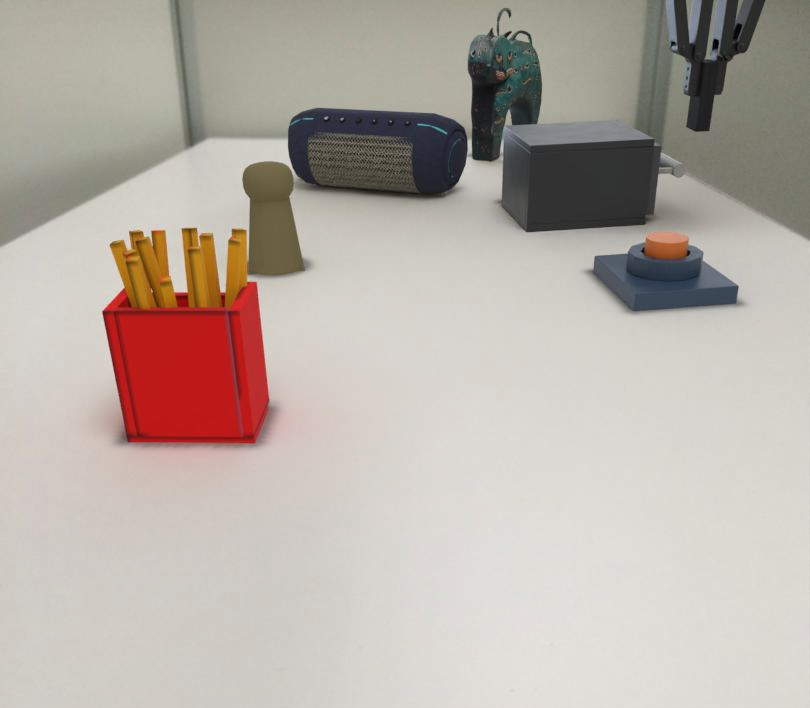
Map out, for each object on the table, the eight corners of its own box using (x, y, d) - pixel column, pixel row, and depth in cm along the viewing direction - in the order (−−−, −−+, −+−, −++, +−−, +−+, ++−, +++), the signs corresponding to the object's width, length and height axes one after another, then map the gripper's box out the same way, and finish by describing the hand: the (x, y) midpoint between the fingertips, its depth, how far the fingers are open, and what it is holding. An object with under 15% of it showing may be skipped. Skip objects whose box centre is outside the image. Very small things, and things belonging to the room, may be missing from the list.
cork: (274, 259, 107) (264, 154, 101) (316, 268, 104) (308, 160, 98) (236, 274, 103) (223, 165, 97) (278, 283, 100) (268, 172, 94)
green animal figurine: (493, 164, 145) (497, 12, 134) (455, 160, 148) (456, 11, 137) (546, 140, 159) (554, 1, 148) (511, 137, 162) (516, 1, 151)
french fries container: (154, 408, 75) (122, 224, 67) (271, 409, 74) (252, 223, 67) (127, 450, 69) (88, 254, 61) (254, 451, 68) (231, 253, 61)
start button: (677, 248, 95) (679, 230, 94) (693, 260, 92) (695, 241, 91) (637, 250, 94) (639, 232, 94) (652, 263, 91) (655, 244, 90)
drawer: (653, 190, 126) (661, 126, 121) (688, 212, 116) (697, 143, 112) (520, 198, 124) (523, 133, 119) (544, 221, 114) (548, 151, 110)
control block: (685, 270, 101) (690, 231, 98) (735, 308, 91) (742, 266, 88) (592, 276, 99) (595, 237, 97) (633, 316, 89) (637, 274, 87)
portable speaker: (278, 190, 134) (271, 112, 128) (311, 175, 141) (306, 101, 136) (448, 204, 125) (448, 122, 120) (473, 187, 133) (475, 108, 127)
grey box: (610, 198, 126) (618, 119, 121) (645, 224, 116) (654, 138, 110) (501, 205, 124) (504, 125, 119) (526, 232, 114) (530, 145, 109)
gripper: (783, -143, 93) (741, 120, 106) (653, -141, 92) (626, 125, 105) (821, -147, 87) (772, 133, 100) (682, -145, 86) (650, 138, 99)
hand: (697, 128), depth 102 cm, fingers closed
